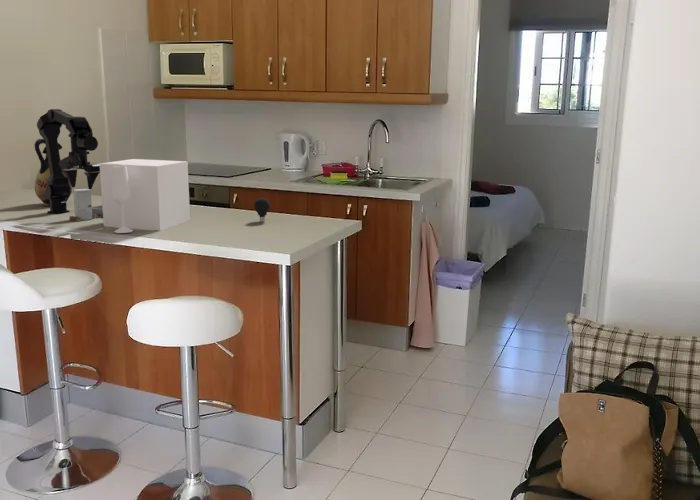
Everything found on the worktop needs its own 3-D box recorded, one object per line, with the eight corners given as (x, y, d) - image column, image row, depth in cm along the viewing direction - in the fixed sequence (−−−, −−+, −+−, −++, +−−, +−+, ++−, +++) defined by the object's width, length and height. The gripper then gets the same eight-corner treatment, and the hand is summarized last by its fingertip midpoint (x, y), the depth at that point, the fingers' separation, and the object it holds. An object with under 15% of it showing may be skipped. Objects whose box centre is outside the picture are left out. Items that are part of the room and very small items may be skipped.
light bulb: (273, 221, 273) (272, 197, 271) (266, 224, 267) (265, 199, 265) (258, 220, 275) (258, 196, 273) (251, 223, 269) (251, 198, 267)
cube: (190, 222, 273) (187, 161, 268) (160, 231, 253) (157, 166, 248) (136, 218, 280) (133, 158, 275) (103, 227, 260) (99, 163, 255)
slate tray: (87, 214, 284) (86, 207, 283) (112, 210, 296) (112, 203, 295) (111, 217, 278) (110, 210, 277) (136, 212, 290) (136, 206, 289)
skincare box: (77, 220, 270) (74, 190, 268) (74, 219, 274) (72, 189, 271) (93, 219, 274) (91, 189, 271) (90, 217, 277) (88, 188, 275)
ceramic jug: (60, 201, 318) (55, 137, 312) (79, 204, 310) (74, 138, 303) (25, 205, 305) (19, 138, 298) (44, 209, 296) (38, 140, 290)
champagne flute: (113, 230, 253) (109, 165, 247) (132, 229, 255) (128, 165, 250) (115, 233, 247) (110, 167, 241) (134, 232, 249) (130, 167, 244)
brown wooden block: (69, 220, 271) (69, 216, 270) (88, 216, 279) (88, 213, 279) (78, 221, 269) (78, 217, 268) (97, 217, 277) (97, 214, 277)
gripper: (45, 149, 265) (48, 188, 268) (79, 151, 257) (82, 192, 260) (68, 147, 274) (71, 185, 278) (102, 149, 266) (104, 189, 270)
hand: (81, 188), depth 271 cm, fingers open, 9 cm apart
